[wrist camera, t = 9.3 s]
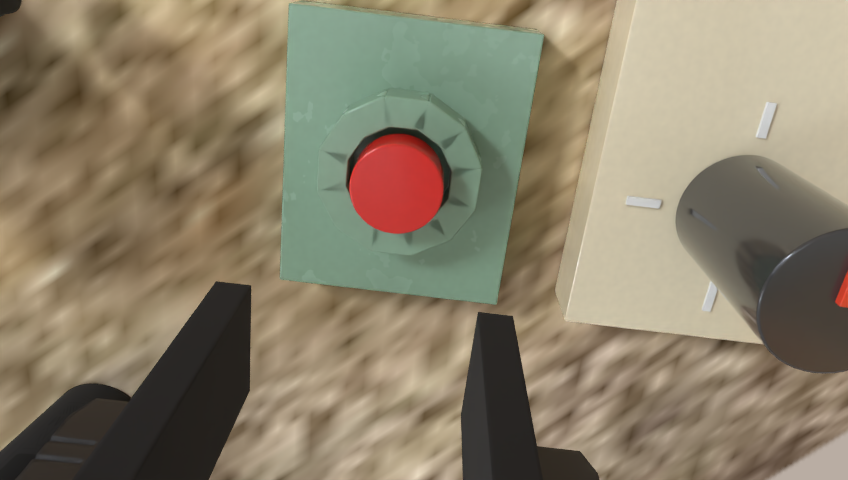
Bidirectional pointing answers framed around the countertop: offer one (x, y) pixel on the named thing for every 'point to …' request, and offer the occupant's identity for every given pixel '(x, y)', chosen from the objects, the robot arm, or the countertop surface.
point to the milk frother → (9, 6)
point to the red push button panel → (405, 114)
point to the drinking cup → (50, 426)
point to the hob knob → (773, 256)
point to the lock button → (397, 184)
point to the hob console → (695, 146)
